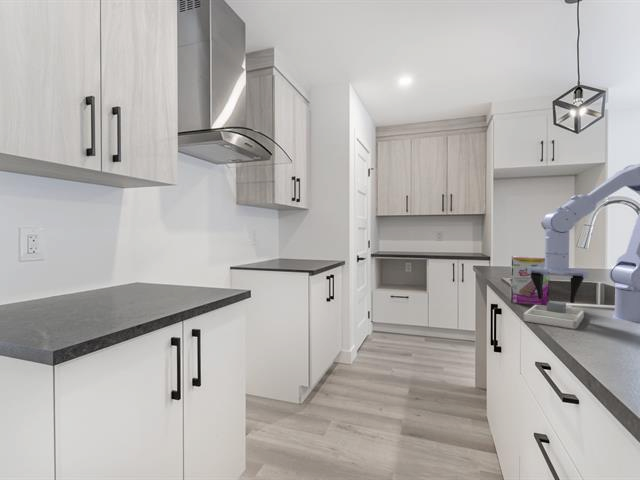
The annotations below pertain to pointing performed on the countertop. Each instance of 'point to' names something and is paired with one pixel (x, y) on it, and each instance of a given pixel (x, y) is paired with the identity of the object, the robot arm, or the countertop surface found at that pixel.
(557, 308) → the slate block
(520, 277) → the candy bar box
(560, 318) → the two-bin tray
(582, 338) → the countertop surface
